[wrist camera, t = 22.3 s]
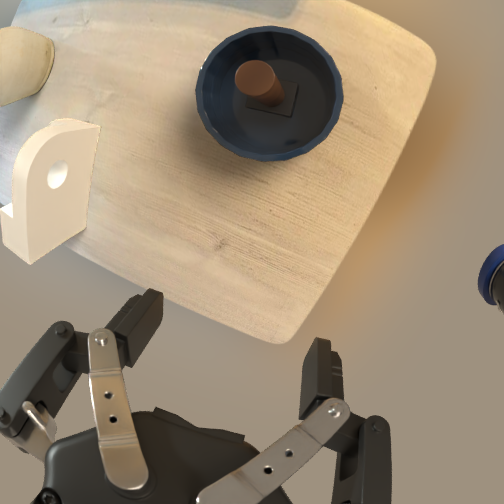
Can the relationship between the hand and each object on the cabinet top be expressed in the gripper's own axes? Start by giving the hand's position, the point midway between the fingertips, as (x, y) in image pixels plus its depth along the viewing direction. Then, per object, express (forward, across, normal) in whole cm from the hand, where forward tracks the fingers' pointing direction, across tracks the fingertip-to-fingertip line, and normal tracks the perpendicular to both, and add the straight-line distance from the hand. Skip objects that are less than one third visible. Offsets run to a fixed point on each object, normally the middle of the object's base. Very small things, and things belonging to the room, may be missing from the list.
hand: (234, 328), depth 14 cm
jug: (+24, +49, -18) cm, 58 cm away
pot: (+24, +3, -13) cm, 27 cm away
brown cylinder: (+24, +3, -13) cm, 27 cm away
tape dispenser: (+24, +35, +2) cm, 43 cm away
